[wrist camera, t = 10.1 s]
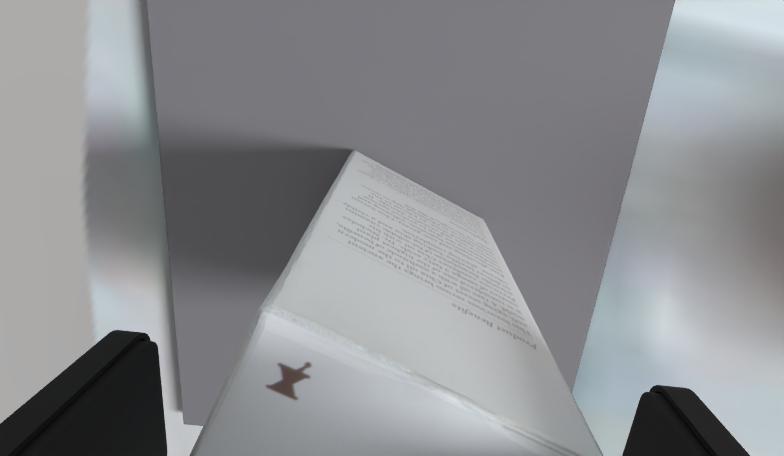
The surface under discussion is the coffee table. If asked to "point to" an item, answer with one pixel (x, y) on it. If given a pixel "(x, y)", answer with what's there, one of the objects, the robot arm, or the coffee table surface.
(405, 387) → the skincare box
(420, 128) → the mat
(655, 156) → the coffee table surface
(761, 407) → the coffee table surface
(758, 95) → the coffee table surface
